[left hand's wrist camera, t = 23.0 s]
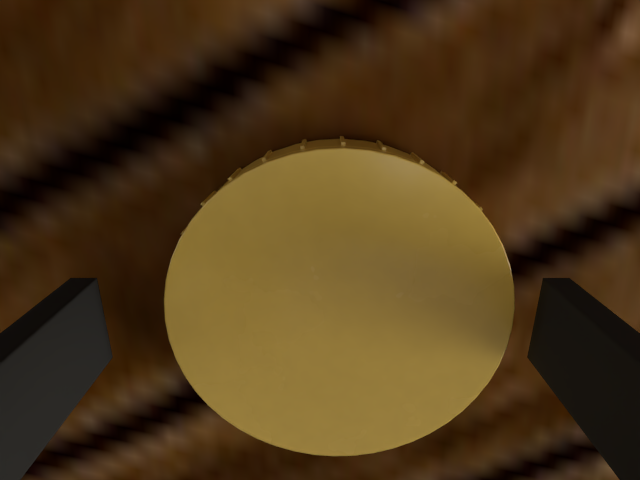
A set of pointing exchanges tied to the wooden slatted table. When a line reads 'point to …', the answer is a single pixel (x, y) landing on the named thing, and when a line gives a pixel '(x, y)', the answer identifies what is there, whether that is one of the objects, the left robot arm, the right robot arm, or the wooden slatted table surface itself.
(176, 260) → the lid
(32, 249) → the wooden slatted table surface
